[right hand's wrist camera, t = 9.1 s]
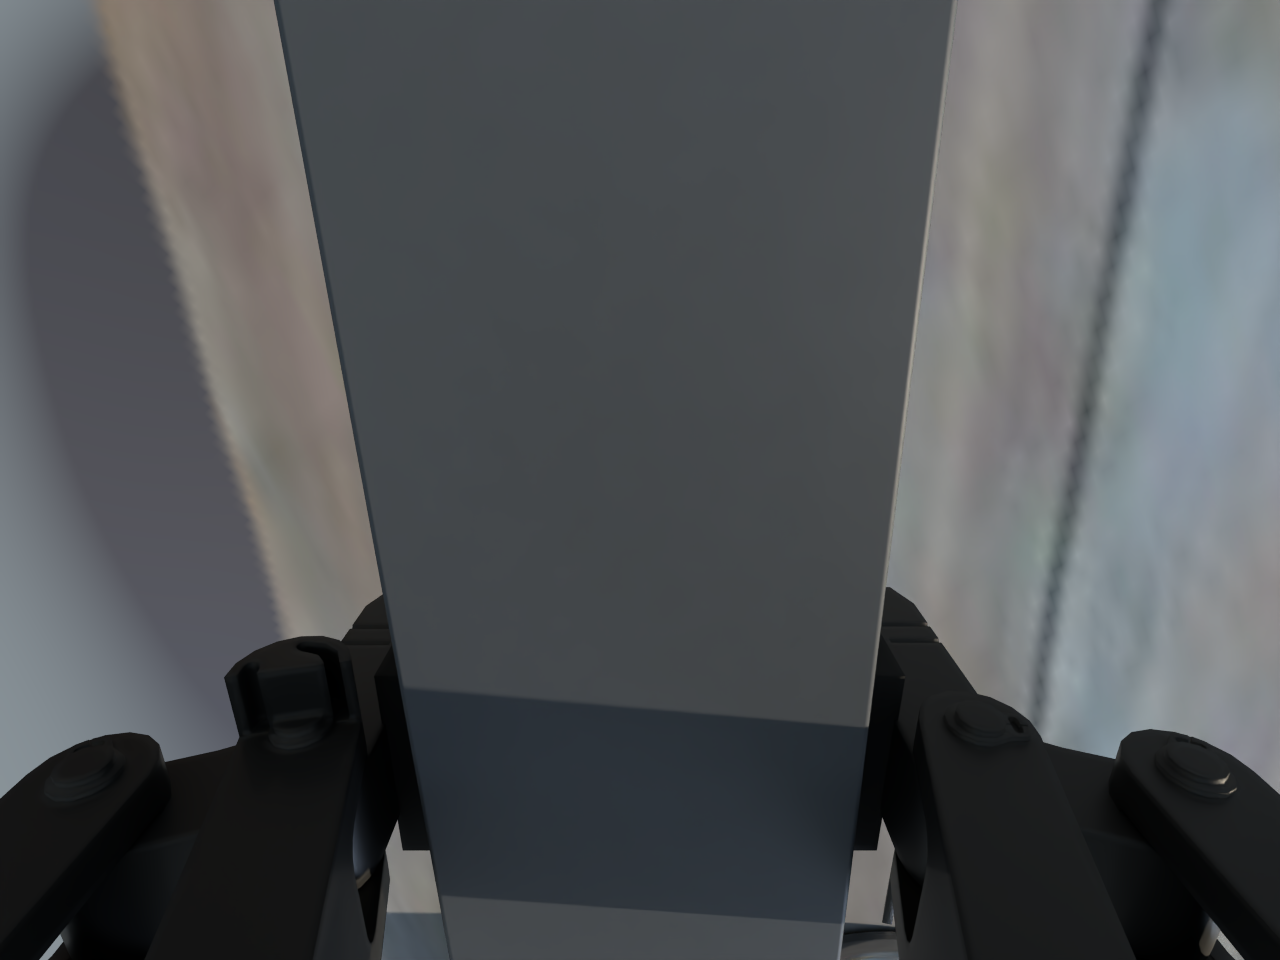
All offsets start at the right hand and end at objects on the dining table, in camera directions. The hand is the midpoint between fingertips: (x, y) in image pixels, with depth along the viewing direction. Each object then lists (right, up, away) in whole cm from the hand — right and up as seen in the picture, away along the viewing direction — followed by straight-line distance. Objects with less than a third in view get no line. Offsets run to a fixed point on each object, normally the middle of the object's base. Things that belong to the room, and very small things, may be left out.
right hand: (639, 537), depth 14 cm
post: (-1, +28, -10) cm, 30 cm away
